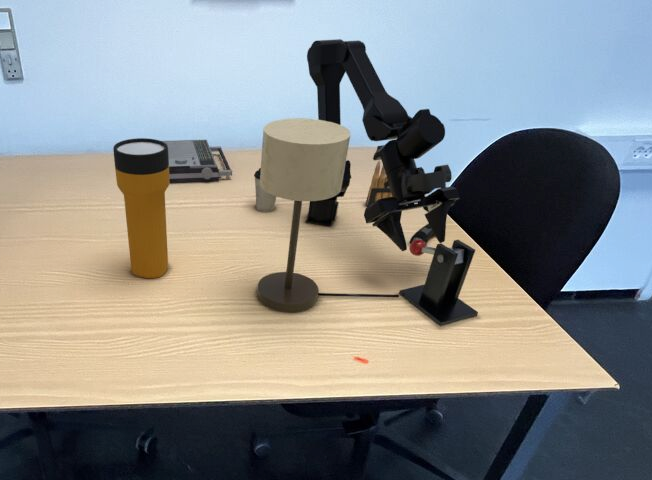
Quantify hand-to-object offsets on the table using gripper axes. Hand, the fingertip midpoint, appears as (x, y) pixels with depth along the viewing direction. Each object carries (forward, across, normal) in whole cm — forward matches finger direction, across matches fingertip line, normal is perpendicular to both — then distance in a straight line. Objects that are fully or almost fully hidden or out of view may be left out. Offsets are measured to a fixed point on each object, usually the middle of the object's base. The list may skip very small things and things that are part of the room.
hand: (423, 246), depth 102 cm
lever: (+3, 0, -1) cm, 4 cm away
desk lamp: (+4, -18, +9) cm, 21 cm away
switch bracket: (+12, 0, +2) cm, 12 cm away
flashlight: (-12, -48, +26) cm, 56 cm away
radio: (-50, -17, +64) cm, 83 cm away
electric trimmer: (-6, +19, +20) cm, 28 cm away
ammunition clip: (-19, +21, +32) cm, 43 cm away
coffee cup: (-26, -10, +40) cm, 49 cm away
